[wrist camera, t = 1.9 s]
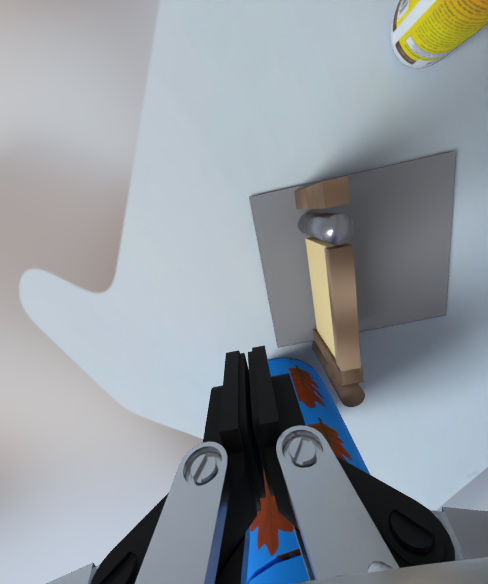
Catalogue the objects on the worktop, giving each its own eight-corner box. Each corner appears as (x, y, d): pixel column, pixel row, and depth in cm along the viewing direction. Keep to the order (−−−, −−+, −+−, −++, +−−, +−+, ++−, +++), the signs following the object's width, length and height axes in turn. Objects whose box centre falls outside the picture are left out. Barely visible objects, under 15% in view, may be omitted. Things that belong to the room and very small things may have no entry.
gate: (296, 215, 23) (322, 217, 16) (317, 210, 23) (354, 210, 16) (313, 339, 27) (339, 386, 20) (331, 336, 27) (364, 381, 20)
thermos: (220, 388, 30) (150, 1052, 6) (291, 340, 28) (575, 1040, 4) (272, 439, 33) (358, 1031, 9) (340, 399, 31) (672, 1017, 7)
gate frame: (249, 197, 23) (254, 190, 15) (452, 151, 22) (572, 118, 14) (280, 360, 29) (295, 417, 21) (442, 329, 28) (523, 376, 20)
